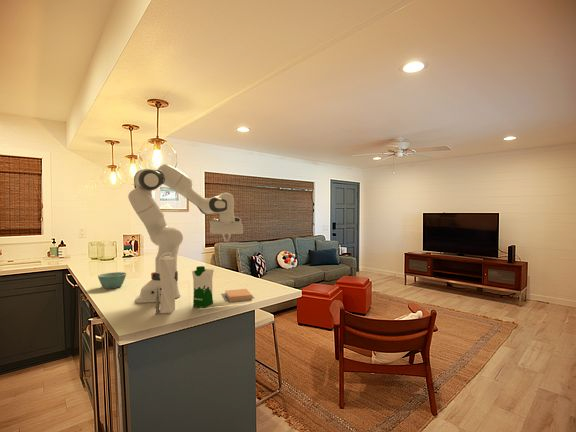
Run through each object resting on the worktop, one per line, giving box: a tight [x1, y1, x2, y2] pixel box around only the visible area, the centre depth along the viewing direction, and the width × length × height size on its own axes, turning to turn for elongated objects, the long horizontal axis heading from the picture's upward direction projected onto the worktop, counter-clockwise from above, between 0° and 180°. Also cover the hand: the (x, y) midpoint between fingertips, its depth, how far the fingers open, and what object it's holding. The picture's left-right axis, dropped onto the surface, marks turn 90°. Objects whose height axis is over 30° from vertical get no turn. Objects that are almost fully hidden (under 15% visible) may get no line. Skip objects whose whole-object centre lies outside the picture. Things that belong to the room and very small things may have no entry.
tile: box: [224, 288, 253, 303], centre depth 164 cm, size 12×2×14 cm
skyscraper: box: [154, 253, 176, 316], centre depth 143 cm, size 8×8×28 cm
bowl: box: [97, 271, 127, 290], centre depth 190 cm, size 16×16×8 cm
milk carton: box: [191, 265, 214, 309], centre depth 151 cm, size 9×9×20 cm
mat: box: [220, 292, 256, 302], centre depth 167 cm, size 16×16×1 cm
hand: (226, 241), depth 185 cm, fingers closed
